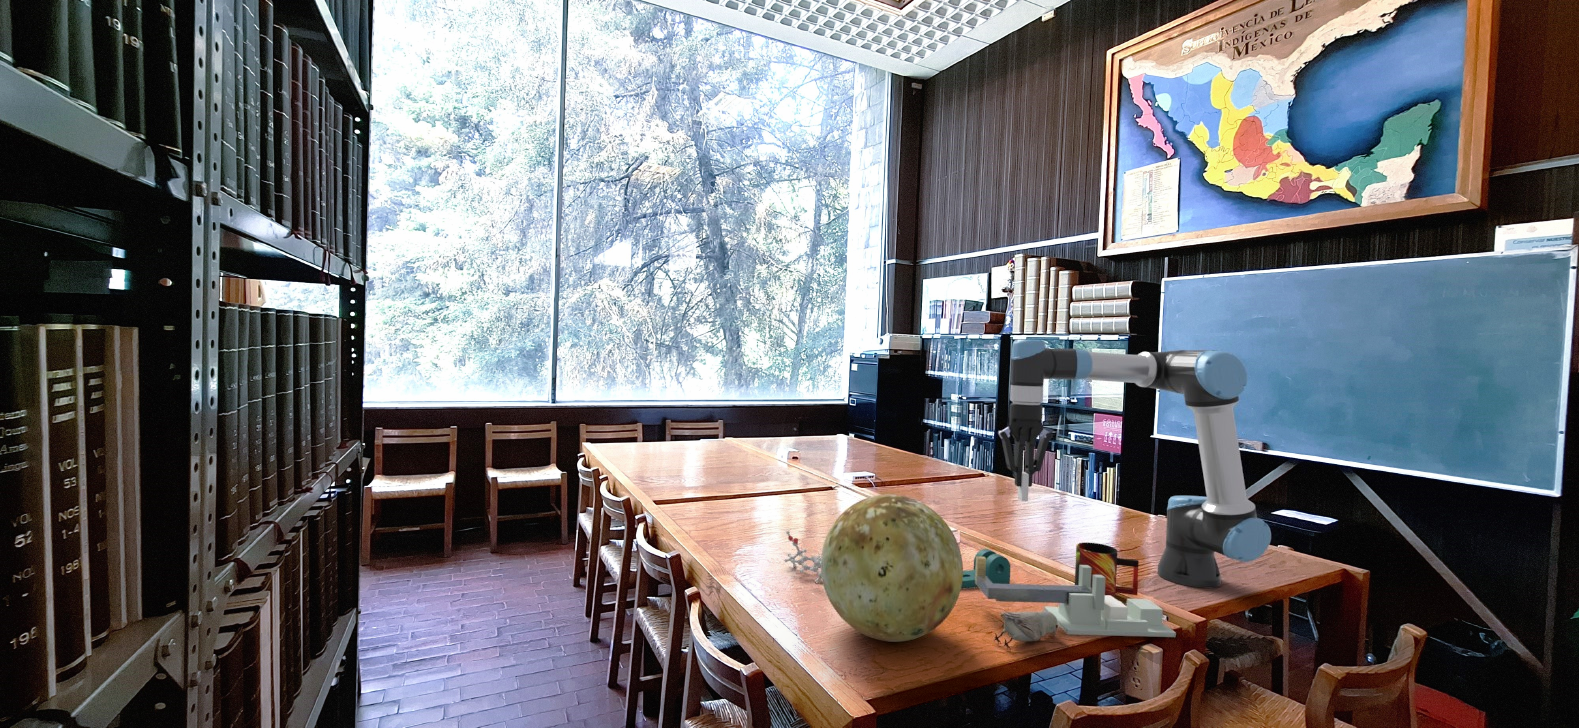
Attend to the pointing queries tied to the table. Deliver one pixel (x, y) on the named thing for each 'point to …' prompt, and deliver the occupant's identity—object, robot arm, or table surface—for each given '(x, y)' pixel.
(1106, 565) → the mug
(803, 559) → the molecular model
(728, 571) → the table surface
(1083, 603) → the stepped block fixture
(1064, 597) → the bent bar
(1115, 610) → the block
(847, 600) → the globe
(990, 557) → the bracket
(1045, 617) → the decorative bird
